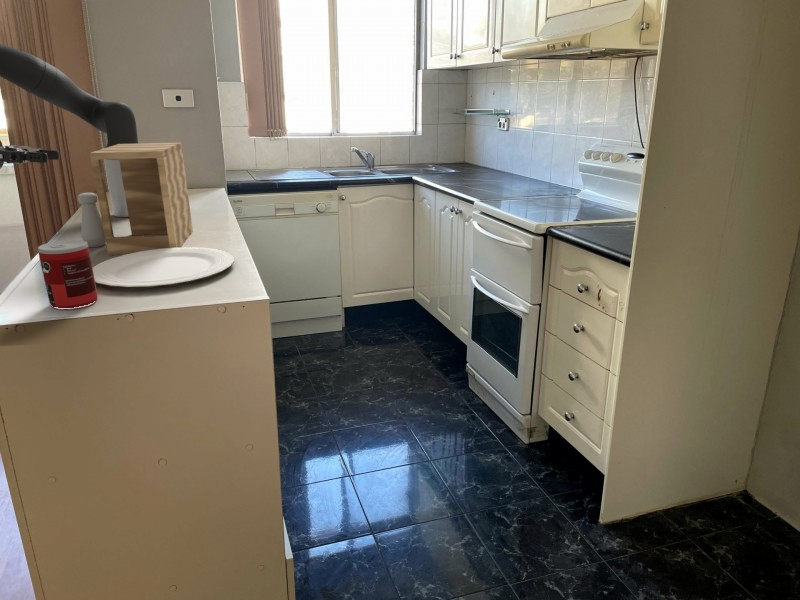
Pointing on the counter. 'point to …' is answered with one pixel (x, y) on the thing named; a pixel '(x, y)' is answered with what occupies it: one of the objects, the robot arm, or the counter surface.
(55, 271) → the canned food
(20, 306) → the counter surface
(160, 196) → the open-side box
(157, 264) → the plate
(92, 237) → the salt shaker
